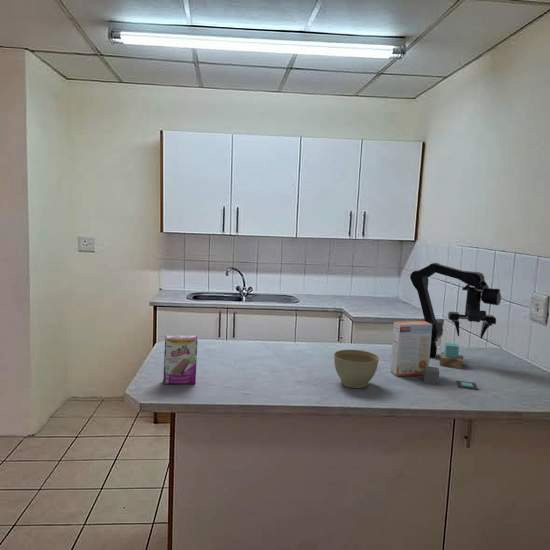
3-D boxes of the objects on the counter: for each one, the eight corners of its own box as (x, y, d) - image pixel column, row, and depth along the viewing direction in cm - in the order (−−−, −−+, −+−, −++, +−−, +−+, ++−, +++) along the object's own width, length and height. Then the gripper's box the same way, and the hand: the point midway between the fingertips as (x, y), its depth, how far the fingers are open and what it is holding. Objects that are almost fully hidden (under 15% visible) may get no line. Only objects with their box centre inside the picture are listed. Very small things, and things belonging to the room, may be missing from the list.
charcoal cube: (424, 382, 189) (425, 369, 188) (423, 378, 194) (424, 366, 193) (438, 384, 188) (439, 371, 187) (436, 380, 193) (438, 367, 192)
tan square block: (439, 366, 212) (440, 357, 212) (440, 361, 220) (441, 352, 220) (461, 369, 209) (462, 360, 208) (462, 364, 217) (463, 355, 217)
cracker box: (420, 371, 203) (425, 320, 200) (428, 375, 197) (433, 324, 195) (389, 371, 200) (393, 320, 197) (396, 376, 194) (400, 324, 191)
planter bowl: (340, 374, 193) (342, 346, 192) (381, 382, 186) (384, 354, 185) (325, 385, 179) (327, 356, 178) (368, 395, 172) (371, 364, 171)
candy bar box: (163, 385, 171) (164, 338, 169) (163, 380, 176) (164, 335, 174) (196, 384, 173) (197, 338, 171) (195, 379, 178) (196, 334, 176)
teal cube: (445, 356, 213) (446, 345, 212) (444, 353, 218) (445, 342, 217) (457, 358, 212) (459, 346, 211) (456, 355, 217) (457, 343, 216)
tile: (458, 387, 185) (458, 386, 185) (455, 381, 192) (455, 380, 192) (478, 389, 184) (478, 388, 184) (475, 383, 191) (475, 382, 191)
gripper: (452, 302, 207) (448, 339, 209) (500, 307, 203) (496, 344, 205) (449, 298, 218) (446, 333, 220) (495, 302, 214) (491, 338, 215)
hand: (469, 337), depth 215 cm, fingers open, 9 cm apart
